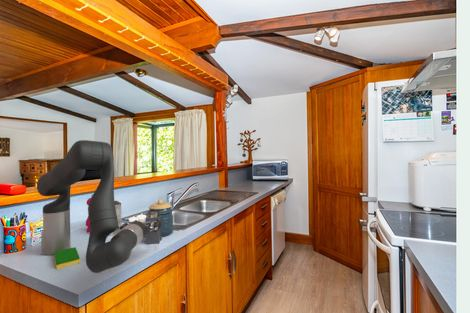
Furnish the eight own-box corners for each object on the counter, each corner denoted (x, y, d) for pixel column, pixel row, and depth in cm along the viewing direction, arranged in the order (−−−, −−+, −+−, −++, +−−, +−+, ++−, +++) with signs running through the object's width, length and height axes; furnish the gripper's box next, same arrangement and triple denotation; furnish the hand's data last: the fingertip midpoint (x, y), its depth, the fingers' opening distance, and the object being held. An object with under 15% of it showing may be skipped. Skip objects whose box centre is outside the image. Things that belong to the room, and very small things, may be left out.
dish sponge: (56, 270, 82) (56, 263, 82) (54, 257, 92) (54, 251, 92) (79, 263, 86) (79, 257, 86) (75, 252, 97) (75, 246, 97)
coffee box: (104, 231, 122) (103, 201, 122) (117, 229, 126) (116, 200, 126) (108, 236, 115) (107, 204, 115) (122, 233, 119) (121, 202, 119)
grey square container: (146, 244, 103) (145, 218, 103) (150, 238, 110) (150, 214, 110) (158, 243, 104) (158, 217, 104) (162, 238, 110) (162, 213, 110)
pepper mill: (83, 231, 123) (82, 194, 123) (97, 227, 129) (96, 192, 129) (89, 233, 119) (88, 195, 119) (103, 230, 125) (103, 193, 125)
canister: (157, 239, 109) (156, 203, 109) (142, 234, 117) (141, 200, 117) (178, 232, 119) (178, 198, 119) (163, 227, 127) (163, 196, 127)
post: (151, 242, 105) (150, 213, 105) (152, 240, 107) (152, 211, 107) (156, 242, 105) (155, 213, 105) (157, 240, 108) (157, 211, 107)
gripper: (152, 223, 79) (163, 212, 95) (110, 225, 78) (129, 213, 95) (153, 244, 79) (164, 230, 95) (111, 247, 78) (129, 231, 94)
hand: (146, 221), depth 95 cm, fingers open, 8 cm apart
